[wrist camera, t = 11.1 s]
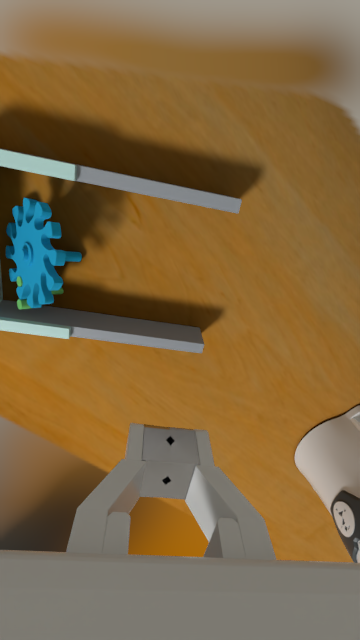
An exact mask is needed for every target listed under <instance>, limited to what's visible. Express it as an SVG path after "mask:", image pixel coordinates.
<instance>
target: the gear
mask: <svg viewBox="0 0 360 640" xmlns="http://www.w3.org/2000/svg"><path fill="white" fill-rule="evenodd" d="M12 213H13V216H14V219H15V222H16V223H9V224H8V226H7V229H6V232H7V235H8V236H9V237H10V238H11V239H12V242H13V245H14V246H6V258H7V259H13V260H14V262H15V263H16V265H17V269H15V268H10V269H9V276H10V281H17V285H18V286H19V287H17V289H16V291H17V295H18V297H19V299H18V300H17V306H18V308H19V309H31V308H41V306H42V304H51V303H54V298H53V295H55V294H63V292H64V291H63V288H61V287H62V284H63V280H62V278H61V277H60V276H59V275H58V274H57V272H56V271H55V268H54V266H64V263H65V261H71V262H80V261H81V259H82V255H81V253H80V252H71V251H63V250H55V249H54V248H53V247H52V245H51V243H50V238H58V239H59V238H61V227H60V223H57V222H50V221H49V222H47V223H46V225H45V227H44V226H43V223H44V220H45V219H49V218H50V217H51V215H52V212H51V209H50V207H49V205H48V204H47V203H43V202H38V201H37V200H34V199H29V198H24V199H23V207H22V206H15V207H14V208H13V209H12Z"/></svg>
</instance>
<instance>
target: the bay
mask: <svg viewBox="0 0 360 640" xmlns="http://www.w3.org/2000/svg"><path fill="white" fill-rule="evenodd" d="M0 166H3V167H8V168H12V169H17V170H22V171H27V172H32V173H37V174H42V175H47V176H52V177H57V178H62V179H67V180H72V181H79V182H84V183H89V184H94V185H99V186H104V187H109V188H114V189H119V190H124V191H129V192H134V193H139V194H144V195H149V196H154V197H159V198H164V199H169V200H174V201H179V202H183V203H188V204H193V205H198V206H203V207H208V208H213V209H218V210H223V211H228V212H233V213H239V209H240V205H241V201H242V200H241V199H238V198H234V197H231V196H226V195H221V194H216V193H211V192H207V191H202V190H197V189H192V188H188V187H183V186H178V185H173V184H168V183H164V182H159V181H154V180H149V179H145V178H140V177H135V176H130V175H126V174H121V173H116V172H111V171H106V170H102V169H97V168H92V167H87V166H83V165H78V164H73V163H68V162H63V161H59V160H54V159H49V158H44V157H40V156H35V155H30V154H25V153H20V152H16V151H11V150H6V149H1V148H0ZM0 330H2V331H10V332H18V333H26V334H33V335H41V336H49V337H57V338H64V339H69V338H70V336H72V337H80V338H88V339H95V340H103V341H111V342H118V343H126V344H134V345H141V346H149V347H157V348H165V349H172V350H180V351H188V352H195V353H202V351H203V347H204V342H203V338H202V334H201V331H200V328H198V327H191V326H184V325H177V324H170V323H163V322H156V321H149V320H142V319H135V318H128V317H121V316H114V315H107V314H100V313H93V312H86V311H79V310H72V309H65V308H58V307H51V306H44V305H42V306H41V308H31V309H19V308H18V306H17V302H16V301H8V300H3V291H2V276H1V261H0Z"/></svg>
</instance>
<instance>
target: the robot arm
mask: <svg viewBox="0 0 360 640" xmlns="http://www.w3.org/2000/svg"><path fill="white" fill-rule="evenodd" d="M295 463H296V466H297V468H298V469H299V470H300V472H301V473H302V474H303V475H304V476H305V477H306V479H307V480H308V481H309V483H310V484H311V485H312V487H313V489H314V490H315V491H316V492H317V494H318V495H319V497H320V498H321V500H322V501H323V503H324V505H325V506H326V508H327V509H328V511H329V512H330V514H331V515H332V517H333V520H334V522H335V525H336V528H337V530H338V533H339V535H340V537H341V539H342V541H343V543H344V545H345V547H346V549H347V551H348V553H349V555H350V556H351V558H352V560H353V561H354V563H348V562H320V561H292V560H276V557H275V553H274V550H273V547H272V544H271V540H270V537H269V534H268V530H267V527H266V524H265V521H264V519H263V517H262V516H261V515H260V514H259V513H258V512H257V511H256V509H255V508H254V507H253V506H252V505H251V504H250V503H249V501H248V500H247V499H246V498H245V497H244V496H243V494H242V493H241V492H240V491H239V490H238V489H237V488H236V486H235V485H234V484H233V483H232V482H231V481H230V480H229V478H228V477H227V476H226V475H225V474H224V473H223V472H222V470H221V469H220V468H219V467H215V465H214V460H213V455H212V450H211V445H210V440H209V435H208V432H207V430H196V429H194V430H193V429H185V428H173V427H162V426H154V425H145V424H144V425H143V424H135V423H131V424H130V429H129V435H128V441H127V447H126V454H125V459H122V460H121V461H120V462H119V463H118V464H117V465H116V466H115V467H114V469H113V470H112V471H111V472H110V473H109V474H108V475H107V476H106V477H105V478H104V480H103V481H102V482H101V483H100V484H99V485H98V486H97V487H96V488H95V490H94V491H93V492H92V493H91V494H90V495H89V496H88V497H87V498H86V499H85V500H84V502H83V503H82V504H81V505H80V506H79V507H78V508H77V511H76V515H75V519H74V523H73V527H72V531H71V535H70V539H69V543H68V547H67V551H66V552H43V551H42V552H41V551H13V550H0V640H360V405H359V406H357V407H355V408H353V409H352V410H350V411H349V412H347V413H346V414H345V415H343V416H340V417H338V418H335V419H332V420H329V421H327V422H325V423H323V424H321V425H319V426H317V427H316V428H314V429H313V430H312V431H310V432H309V433H308V434H307V435H306V436H305V437H304V438H303V439H302V440H301V442H300V443H299V445H298V447H297V449H296V452H295ZM139 497H163V498H174V499H185V501H186V503H187V505H188V507H189V508H190V510H191V512H192V514H193V515H194V517H195V519H196V520H197V522H198V524H199V525H200V527H201V529H202V531H203V532H204V534H205V536H206V538H207V539H208V541H209V544H208V547H207V549H206V552H205V554H204V557H180V556H151V555H128V543H129V530H130V516H129V515H128V514H129V513H130V511H131V510H132V508H133V506H134V505H135V503H136V502H137V500H138V499H139Z"/></svg>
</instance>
